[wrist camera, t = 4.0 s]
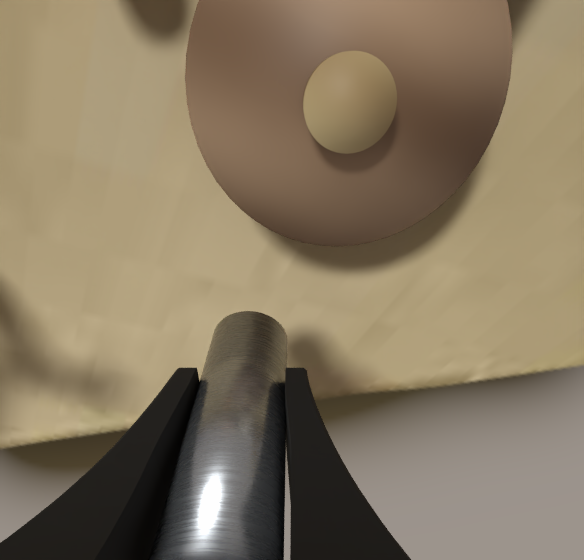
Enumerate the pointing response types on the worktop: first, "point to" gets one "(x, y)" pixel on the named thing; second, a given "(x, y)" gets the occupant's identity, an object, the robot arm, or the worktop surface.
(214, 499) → the steel pin
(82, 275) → the worktop surface
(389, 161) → the wooden disc with frame
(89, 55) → the worktop surface
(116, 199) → the worktop surface
